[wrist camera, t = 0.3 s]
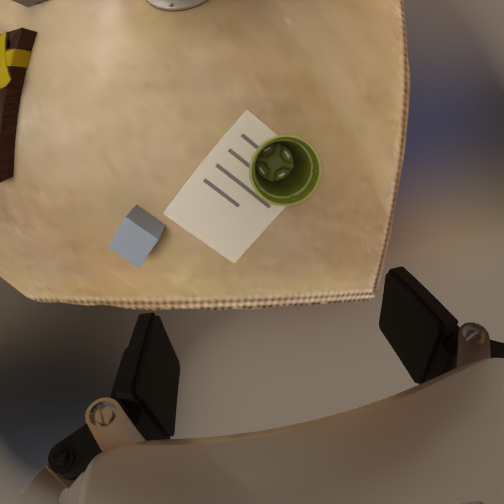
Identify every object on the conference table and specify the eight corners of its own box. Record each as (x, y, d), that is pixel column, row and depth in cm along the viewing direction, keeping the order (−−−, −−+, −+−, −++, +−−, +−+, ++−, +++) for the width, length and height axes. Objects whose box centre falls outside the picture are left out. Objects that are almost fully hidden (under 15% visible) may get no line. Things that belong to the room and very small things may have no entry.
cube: (119, 231, 45) (108, 246, 39) (136, 204, 43) (125, 216, 38) (147, 250, 47) (139, 267, 41) (165, 225, 45) (158, 239, 40)
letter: (162, 213, 44) (162, 213, 44) (246, 109, 38) (246, 109, 38) (234, 263, 50) (234, 263, 49) (316, 171, 44) (317, 172, 44)
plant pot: (231, 155, 41) (233, 163, 33) (281, 120, 39) (296, 120, 32) (266, 201, 45) (276, 220, 37) (313, 168, 43) (333, 180, 36)
